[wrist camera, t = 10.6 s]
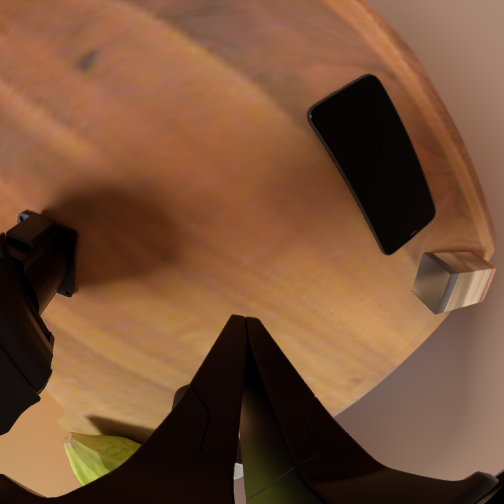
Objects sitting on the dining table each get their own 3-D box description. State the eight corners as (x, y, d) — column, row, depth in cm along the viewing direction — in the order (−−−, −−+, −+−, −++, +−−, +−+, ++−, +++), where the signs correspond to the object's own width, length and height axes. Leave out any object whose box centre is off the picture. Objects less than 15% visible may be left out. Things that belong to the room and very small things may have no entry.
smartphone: (299, 112, 17) (382, 256, 24) (302, 112, 17) (386, 260, 23) (369, 70, 16) (433, 213, 22) (375, 69, 15) (439, 215, 22)
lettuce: (103, 402, 28) (87, 490, 15) (197, 454, 36) (202, 520, 24) (56, 418, 29) (40, 482, 17) (140, 464, 38) (138, 519, 26)
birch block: (434, 314, 22) (482, 301, 23) (450, 274, 20) (496, 268, 21) (411, 290, 26) (461, 282, 27) (423, 253, 24) (472, 251, 25)
